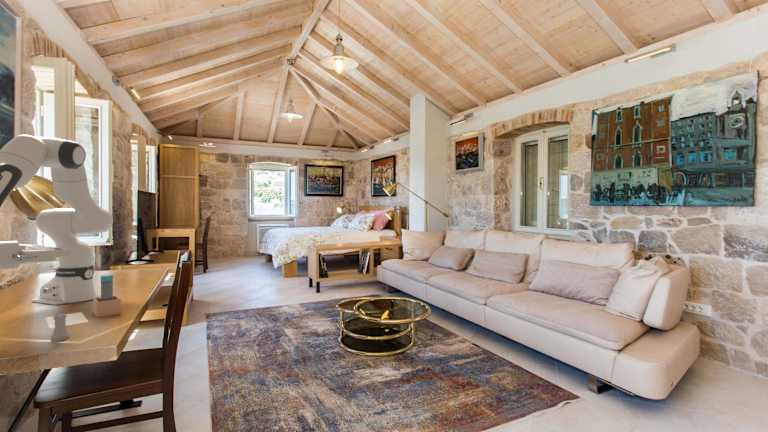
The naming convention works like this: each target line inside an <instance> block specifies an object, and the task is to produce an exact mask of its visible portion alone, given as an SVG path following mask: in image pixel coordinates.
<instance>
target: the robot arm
mask: <svg viewBox="0 0 768 432" xmlns="http://www.w3.org/2000/svg"><path fill="white" fill-rule="evenodd" d="M85 161H86V150H85V149H84V147H83V145H82V144H81V143H78V142H76V141H74V140H69V139H68V140H66V139H61V138H57V137H51V136H50V137H48V136H47V137H44V136H33V135H30V134H20V135H16V136H15V137H12V139H11V140H9V141H8V142H7V143H6V144H4V146H2V148H1V149H0V208H1V207H2V205H3V204H4V202H5V201H6V200H7V198H8V197H9V196H10V194H11V193H12V191H13V190H14V189H19V188H23V187H25V186H26V185H27V184H28V183H29V182H31V180H32V179H33V178H34V177H35V176H36V175H37V173H38V172H39V170H40V168H41V167H45V168H50V174H51V175H50V176H51V181H52V188H53V194H54V197H55V198H56V199H57V200H58V201H60V202H63V203H64V204H67V205H69V206H70V207H69V208H68V207H65V208H64V207H63V208H62V207H60V208H59V207H56V208H49V209H43V210H41V211H40V212H39V213H38V215H37V216H36V219H35V225H36V227H37V229H38V230H39V231H40V232H41V233H43V234H44V235H47V236H48V237H49V238H50V239H51V240H52V241H53V242H54V244H55V246H56V247H51V246H50V247H48V246H45V245H41V244H33V243H32V244H31V243H30V244H29V243H28V244H27V243H25V244H24V243H19V241H18V240H0V270H11V269H18V268H19V267H20V265H24V264H26V263H41V262H54V261H56V260H57V258H58V266H59V267H57V268H55V269H52V270H53V273H55V274H54V276H53V277H52V278H50V279H49V280H48V281H47V282H45V283H44V284H43V285H42V286H41V287H40V289H39V296H37V297H35V298H32V299H31V303H39V304H46V305H55V306H57V305H65V304H73V303H77V302H78V303H79V302H85V301H90V300H93V299H94V298H99V297H98V294H97V290H96V286H95V279H94V273H95V266H94V263H93V260H94V259H93V258H94V257H93V254H94V253H93V248H92V247H91V245H90V244H88V243H85V242H84V241H81V240H79V239H78V238H77V235H93V234H94V235H95V234H96V235H97V234H102V233H107V232H108V231H109V230H110V229H111V228H112V226H113V224H114V218H113V216H112V214H111V212H110V211H108V210H106V209H105V208H103V207H102V206H100V205H99V204H98V203H97V202H96V201H95V199H93V197H92V195H91V192H90V188H89V183H88V178H87V177H88V176H87V171H86V167H85V164H84V163H85Z"/></svg>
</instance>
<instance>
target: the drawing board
mask: <svg viewBox="0 0 768 432" xmlns="http://www.w3.org/2000/svg"><path fill="white" fill-rule="evenodd" d="M66 315H67V317H66V319H65V320H66V322H65V325H66V326H67V327H68V326H71V325H73V326H74V325H79V324H84V323H85V324H87V323H89V320H88V319H87V318H86V317H85V315H84V314H83V313H82V311H80V312H72V313H67V314H66ZM54 316H55V315H54ZM54 316H47V317H45V321H46V323H47V325H48V328H49V329H55V324H54V322H55V320H54V319H53V317H54Z"/></svg>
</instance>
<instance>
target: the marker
mask: <svg viewBox="0 0 768 432" xmlns="http://www.w3.org/2000/svg"><path fill="white" fill-rule="evenodd" d="M113 296H114V274H103V275H100V298H101V301H107V300H113Z"/></svg>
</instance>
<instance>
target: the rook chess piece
mask: <svg viewBox="0 0 768 432" xmlns="http://www.w3.org/2000/svg"><path fill="white" fill-rule="evenodd" d="M66 317H67V315H66V312H61V313H55V314H54V317H53V319H54V320H55V322H54V324H55V328H53V329H54V330H53V333H52V334H51V336H50V338H51V339H50V342H51V343H54V344H55V343H62V342H66V341H67V340H65V339H68V338H69V337H70V332H69V331H68V329H67V327H66V325H65V322H66V320H65V319H66Z"/></svg>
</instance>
